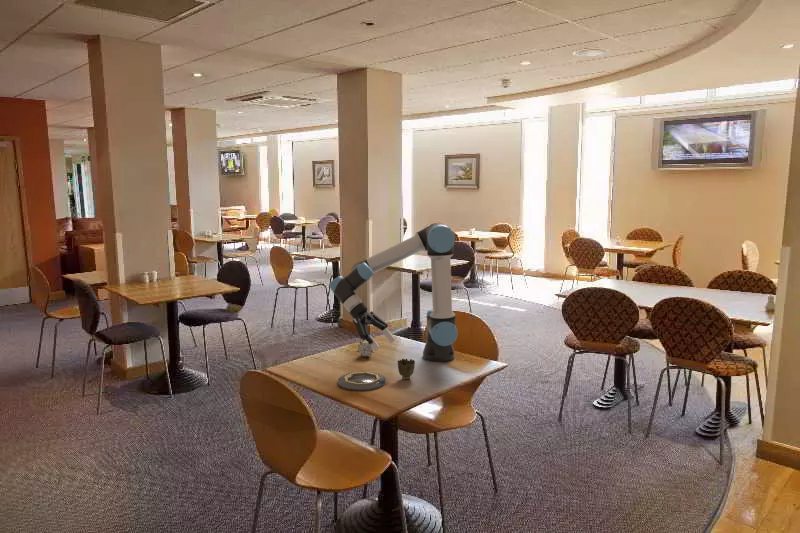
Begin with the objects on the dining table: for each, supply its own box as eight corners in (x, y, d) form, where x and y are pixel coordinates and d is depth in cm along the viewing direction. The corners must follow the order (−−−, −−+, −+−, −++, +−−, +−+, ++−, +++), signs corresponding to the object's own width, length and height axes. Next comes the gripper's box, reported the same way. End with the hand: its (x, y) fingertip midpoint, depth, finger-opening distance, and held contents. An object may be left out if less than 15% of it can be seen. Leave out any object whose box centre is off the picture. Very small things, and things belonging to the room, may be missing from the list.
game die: (364, 362, 283) (366, 343, 288) (377, 359, 278) (379, 340, 283) (351, 357, 277) (354, 337, 282) (364, 354, 272) (366, 334, 277)
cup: (394, 380, 247) (394, 362, 246) (400, 375, 254) (400, 357, 253) (411, 383, 244) (411, 364, 243) (417, 377, 251) (417, 359, 250)
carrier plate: (381, 372, 257) (381, 368, 257) (389, 388, 238) (389, 384, 237) (335, 376, 253) (335, 371, 253) (340, 392, 234) (340, 387, 233)
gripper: (365, 307, 269) (394, 343, 264) (334, 318, 247) (365, 357, 242) (375, 296, 265) (404, 333, 261) (344, 307, 244) (376, 347, 239)
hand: (385, 345), depth 251 cm, fingers open, 13 cm apart
